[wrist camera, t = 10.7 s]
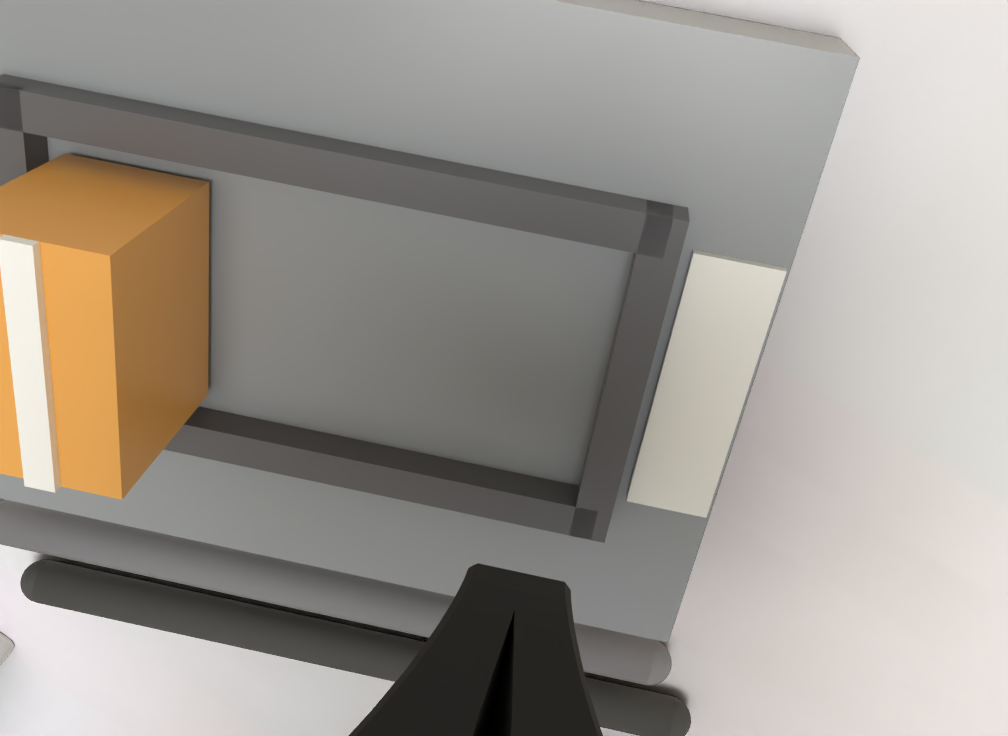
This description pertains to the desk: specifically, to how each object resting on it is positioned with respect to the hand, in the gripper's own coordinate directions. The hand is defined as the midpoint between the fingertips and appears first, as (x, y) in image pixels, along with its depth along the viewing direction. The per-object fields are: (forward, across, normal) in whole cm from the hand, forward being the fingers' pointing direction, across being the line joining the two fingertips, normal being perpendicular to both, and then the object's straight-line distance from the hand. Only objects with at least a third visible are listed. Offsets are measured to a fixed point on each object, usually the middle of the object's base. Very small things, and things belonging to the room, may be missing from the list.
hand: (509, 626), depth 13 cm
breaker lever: (+8, +9, 0) cm, 12 cm away
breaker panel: (+10, +5, 0) cm, 11 cm away
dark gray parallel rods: (+10, +5, +10) cm, 15 cm away
